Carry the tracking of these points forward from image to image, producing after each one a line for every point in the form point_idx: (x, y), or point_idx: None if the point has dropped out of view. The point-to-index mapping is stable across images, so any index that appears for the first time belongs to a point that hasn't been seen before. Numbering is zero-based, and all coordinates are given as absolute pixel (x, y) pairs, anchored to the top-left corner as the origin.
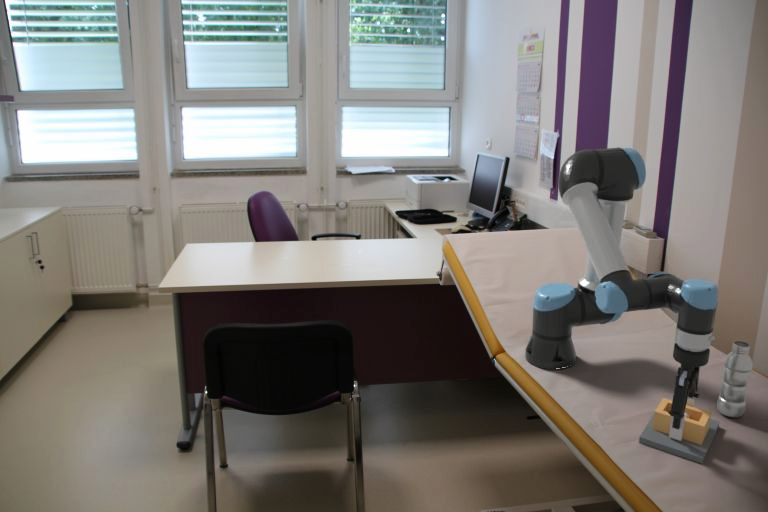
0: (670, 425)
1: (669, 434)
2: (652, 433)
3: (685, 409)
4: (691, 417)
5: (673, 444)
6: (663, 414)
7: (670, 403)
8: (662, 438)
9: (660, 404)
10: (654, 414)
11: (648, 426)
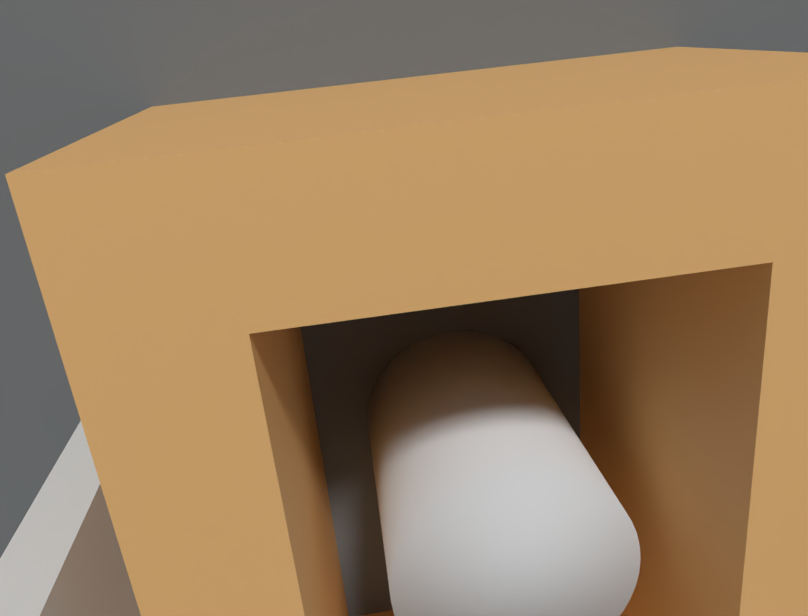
0: (5, 550)
1: (73, 438)
2: (18, 163)
3: (716, 589)
4: (649, 589)
5: (11, 493)
6: (80, 411)
7: (759, 323)
8: (19, 334)
9: (540, 144)
10: (41, 161)
11: (172, 17)
